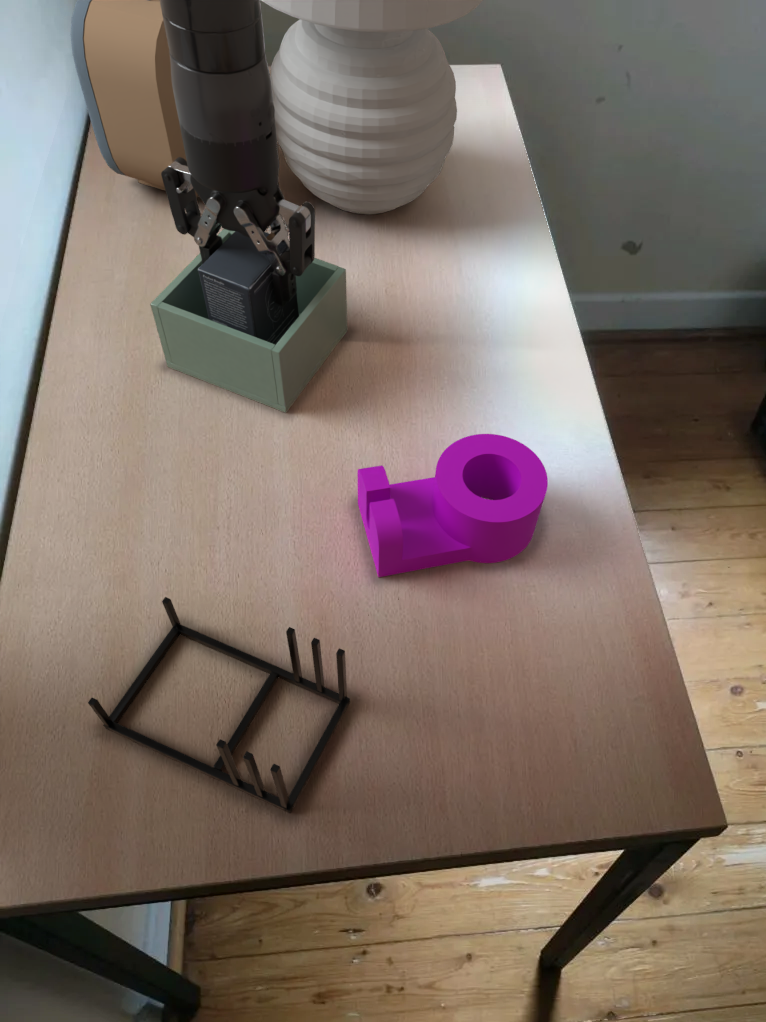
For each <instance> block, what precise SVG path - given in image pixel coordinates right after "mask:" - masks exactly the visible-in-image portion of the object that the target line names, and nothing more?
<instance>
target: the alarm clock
mask: <svg viewBox="0 0 766 1022" xmlns="http://www.w3.org/2000/svg"><path fill="white" fill-rule="evenodd" d="M75 1H76V2H75V4H74V8H73V11H72V15H71V19H70V21H71V22H70V24H71V25H70V43H71V53H72V58H73V63H74V66H75V71H76V74H77V78H78V81H79V85H80V87H81V88H80V89H81V91H82V96H83V99H84V102H85V105H86V109H87V113H88V116H89V120H90V124H91V126H92V127H91V128H92V130H93V134H94V137H95V140H96V143H97V146H98V149H99V151H100V154H101V157H102V158H103V160H104V161H105V163H106V164H107V166H108V167H109V168H110V169H111V170H112V171H113V172H114V173H116V174H118V175H122V176H125V177H128V178H131V179H135V180H137V182H138V184H141V185H145V186H148V187H152V188H155V189H159V190H162V191H165V192H166V190H165V187H164V183H163V180H162V176H161V172H162V171H163V170H164V169H165V168H167V167H168V166H169V165H170V164H171V163H172V162H173V161H174V160H176V159H177V158H178V157H182V158H184V159H185V160H186V155H185V150H184V145H183V139H182V134H181V129H180V124H179V119H178V114H177V109H176V103H175V98H174V93H173V87H172V80H171V64H170V54H169V48H168V42H167V37H166V32H165V26H164V21H163V16H162V11H161V7H160V1H159V0H75ZM186 161H187V160H186ZM195 194H196V198H197V199H198V198H199V196H198V194H197V193H196V191H195Z"/></svg>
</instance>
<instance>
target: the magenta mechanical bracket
mask: <svg viewBox="0 0 766 1022" xmlns="http://www.w3.org/2000/svg"><path fill="white" fill-rule="evenodd" d="M434 472H435V473H434V476H433V477H427V478H426V477H425V478H421V479H415V480H408V481H403V482H396V483H390V482H389V479H388V475H387V472H386V469H385V467H384V466H383V464H382V465H375V466H369V467H363V468H358V469H357V506H358V509H359V510H358V511H359V513H360V517H361V520H362V524H363V527H364V530H365V535H366V538H367V541H368V546H369V548H370V554H371V556H372V560H373V563H374V567H375V572H376V574H377V577H378V578H382V577H383V578H384V577H388V576H393V575H399V574H404V573H410V572H414V571H421V570H424V569H430V568H435V567H442V566H447V565H452V564H457V563H463V562H474V563H479V564H496V563H501V562H504V561H508V560H511V559H512V558H514V557H517V556H518V555H519V554H521V553H522V552H523V551H524V550H525V549H526V548H527V547H528V545H529V544H530V543H531V541H532V539H533V536H534V533H535V531H536V527H537V524H538V521H539V517H540V514H541V511H542V507H543V505H544V501H545V499H546V495H547V492H548V486H549V482H548V481H549V479H548V473H547V470H546V467H545V465H544V464H543V462H542V460H541V458H540V457H539V456H538V454H536V453H535V452H534V451H533V449H531V448H530V447H528V445H526V444H524V443H522V442H520V441H519V440H516V439H515V438H511V437H508V436H505V435H502V434H497V433H496V434H495V433H477V434H472V435H468V436H467V435H466V436H464V437H462V438H459V439H458V440H455V441H454V442H452V443H450V445H448V446H447V447H446V448H445V449H444V450H443V452H442V453H441V454H440V456H439V457H438V460H437V462H436V466H435V471H434Z"/></svg>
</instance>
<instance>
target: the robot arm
mask: <svg viewBox="0 0 766 1022" xmlns="http://www.w3.org/2000/svg"><path fill="white" fill-rule="evenodd" d="M159 1H160V7H161V11H162V16H163V21H164V26H165V32H166V37H167V42H168V48H169V54H170V64H171V80H172V87H173V93H174V98H175V103H176V109H177V114H178V119H179V124H180V129H181V134H182V139H183V145H184V150H185V155H186V160H187V161H186V160H185V159H184V158H182V157H178V158H177V159H176V160H174V161H173V162H172V163H171V164H170V165H169V166H168V167H167V168H165V169H164V170H163V171H162V172H161V176H162V180H163V183H164V187H165V190H166V191H165V190H164V191H165V193H166V197H167V201H168V204H169V208H170V211H171V215H172V219H173V222H174V226H175V229H176V230H177V232H178V233H180V234H181V235H184V236H185V235H187V234H188V235H189V236H191V237H193V241H194V243H196V245H197V246H198V248H199V254H201V257H202V258H201V259H202V264H204V263H205V262H206V260H208V259H209V257H210V256H211V255H212V254H213V253H214V252H215V251H216V250H217V249H218V248H219V247H220V246H221V245H222V244H223V243H222V237H221V236H218V234H219V233H220V230H221V229H222V230H223V229H226V230H229V231H237V232H239V233H240V234H242V235H244V236H246V237H248V238H251V240H252V241H253V243H254V245H255V247H256V248H257V250H258V252H259V253H260V254H264V255H265V256H266V258H267V259H268V261H269V263H270V264H271V266H272V268H273V270H274V272H273V273H272V276H273V285H274V294H275V302H276V304H278V305H281V306H285V305H286V303H287V302H288V303H289V301H290V300H291V299H292V298H293V297H294V295H295V294H296V292H297V286H296V285H297V284H296V276H301V275H302V274H303V272H304V270H305V269H306V268H307V267H308V266H309V265H310V264H311V263H312V262H313V261H314V258H316V256H315V252H316V251H315V249H316V248H315V246H316V245H315V243H316V241H315V240H316V209H315V206H314V205H313V204H312V203H311V202H309V201H304V202H302V204H301V205H299V204H296V203H294V202H292V201H290V200H286V199H285V196H284V193H283V192H282V190H281V188H280V184H279V172H280V159H279V158H280V157H279V147H278V142H277V136H276V125H275V108H274V103H273V93H272V84H271V71H270V69H269V64H268V60H267V55H266V44H265V35H264V25H263V24H264V22H263V13H262V5H261V4H262V3H261V0H159ZM195 191H196V193H197V194H198V197H197V198H196V194H195ZM198 198H199V199H200V200H201V201H202V203H203V204H204V208H203V212H202V214H201V210H200V206H199V202H198ZM283 220H284V221H283ZM269 228H270V232H269V235H268V236H267V237H265V235H264V232H266V231H267V230H268V229H269ZM288 237H289V238H288ZM277 246H278V248H279V250H280V252H281V253H282V256H280V254H279V252H278V251H277Z"/></svg>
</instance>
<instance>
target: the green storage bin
mask: <svg viewBox="0 0 766 1022" xmlns="http://www.w3.org/2000/svg"><path fill="white" fill-rule="evenodd" d="M234 232H235V231H229V230H226V229H223V228H222V229H221V231H219V232H218V233H217V235H218V236H221V237H222V243H224V242H225V241H226V240H227V239H228V238H229V237H230V236H231V235H232V234H233V233H234ZM201 258H202V257H201V254H200V253H198V254H197V255H196V257H194V258H193V260H192V261H190V263H189V264H187V265H186V267H184V269H182V271H181V272H180V273H179V274H177V276H176V277H175V278H173V280H172V281H171V282H170V283H169V284H168V285H167V286H166V287H165V288H164V289H163V290H162V291H161V292H160V293H159V294H158V295H157V296H156V297H155V298H154V299H153V300H152V301H151V303H150V304H149V305H150V308H151V311H152V315H153V319H154V323H155V327H156V331H157V334H158V337H159V341H160V345H161V348H162V352H163V355H164V359H165V363H166V366H167V368H170V369H171V370H175V371H177V372H180V373H182V374H185V375H187V376H189V377H192V378H195V379H197V380H200V381H203V382H205V383H208V384H211V385H213V386H215V387H218V388H220V389H223V390H226V391H228V392H231V393H234V394H237V395H238V396H241V397H244V398H247V399H249V400H252V401H254V402H257V403H259V404H262V405H264V406H268V407H269V408H272V409H275V410H278V411H279V412H283V413H285V414H286V413H288V412H289V410H290V408H291V407H292V406H293V404H294V403H295V402H296V401H297V399H299V396H300V395H301V393H302V392H303V391H304V390H305V388H307V386H308V384H309V383H310V382H311V380H312V379H313V378H314V377H315V375H316V374H317V373H318V371H319V370H320V368H321V367H322V365H324V363H325V362H326V360H327V359H328V358H329V356H330V355H331V354H332V353H333V351H334V350H335V348H337V347H336V346H338V345H339V343H340V341H341V340H342V339H343V338H344V336H345V335H346V334H347V332H348V310H347V309H348V303H347V302H348V301H347V300H348V298H347V297H348V296H347V269H346V268H345V267H342V266H339V265H336V264H333V263H331V262H328V261H325V260H322V259H319V258H317V257H315V258H314V261H313V262H312V263H311V264H310V265H309V266H308V267H307V268H306V269H305V270H304V272H303V274H302V275H301V276H296V284H297V285H296V286H297V292H296V293H297V303H298V312H299V317H298V318H297V319H296V320H295V322H294V323H293V324H292V325H291V327H290V328H289V329H288V330H287V332H286V333H285V334H284V335H283V337H282V338H281V339H280V340H279V341H278V343H277V344H276V345H275V344H272V343H270V342H267V341H264V340H262V339H259V338H257V337H254V336H251V335H249V334H246V333H243V332H241V331H238V330H235V329H233V328H230V327H227V326H225V325H222V324H219V323H217V322H214V321H211V320H209V318H208V313H207V308H206V304H205V299H204V294H203V290H202V285H201V280H200V276H199V272H198V268H199V267H200V266H201V265H203V264H202V259H201Z"/></svg>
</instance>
